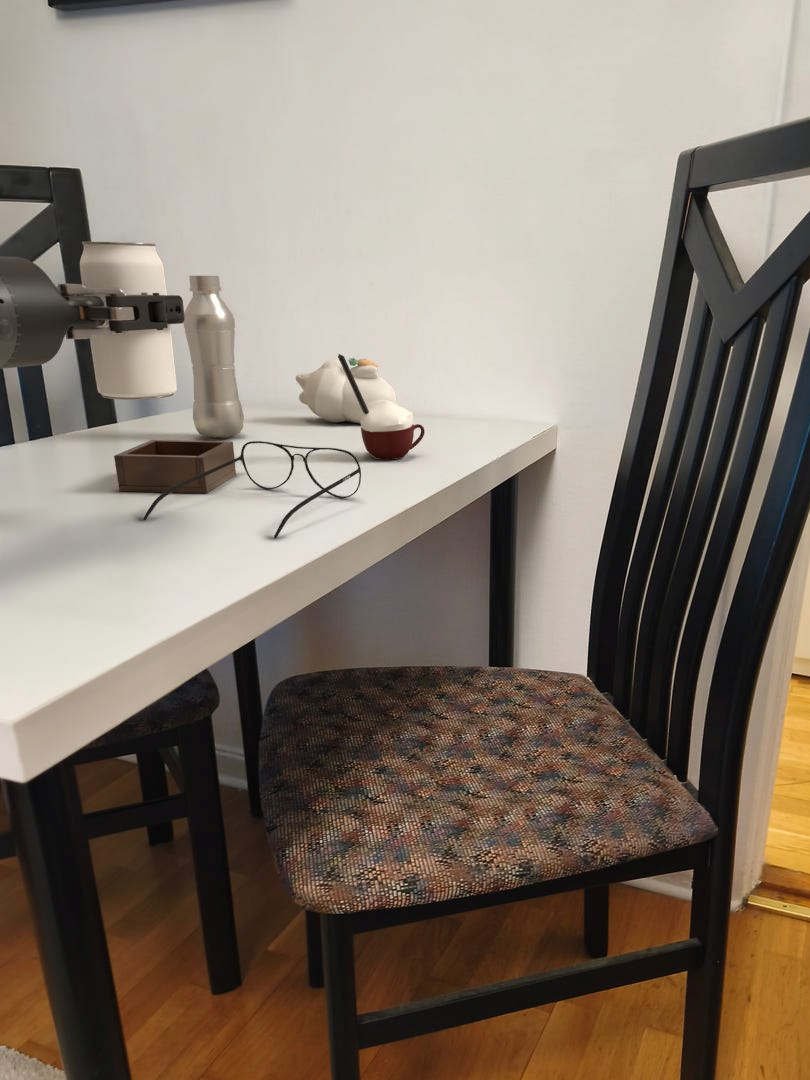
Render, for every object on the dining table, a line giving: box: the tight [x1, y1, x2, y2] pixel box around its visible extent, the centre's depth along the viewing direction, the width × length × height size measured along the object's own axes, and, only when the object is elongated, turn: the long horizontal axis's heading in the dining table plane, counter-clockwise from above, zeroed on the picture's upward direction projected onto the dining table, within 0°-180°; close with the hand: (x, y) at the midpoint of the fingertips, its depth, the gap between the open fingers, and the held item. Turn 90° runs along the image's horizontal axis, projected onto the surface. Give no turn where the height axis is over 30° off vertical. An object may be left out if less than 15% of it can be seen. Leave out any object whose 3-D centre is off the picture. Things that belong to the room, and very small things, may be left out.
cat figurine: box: [295, 357, 398, 424], centre depth 130 cm, size 10×8×15 cm
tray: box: [113, 439, 237, 494], centre depth 93 cm, size 9×9×4 cm
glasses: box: [142, 440, 362, 539], centre depth 83 cm, size 14×15×5 cm
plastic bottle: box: [182, 275, 245, 439], centre depth 115 cm, size 6×7×20 cm
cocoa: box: [337, 353, 425, 461], centre depth 105 cm, size 10×6×12 cm, turn 88°
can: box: [79, 241, 178, 401], centre depth 74 cm, size 6×6×12 cm
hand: (147, 308), depth 76 cm, fingers closed on can, 6 cm apart
